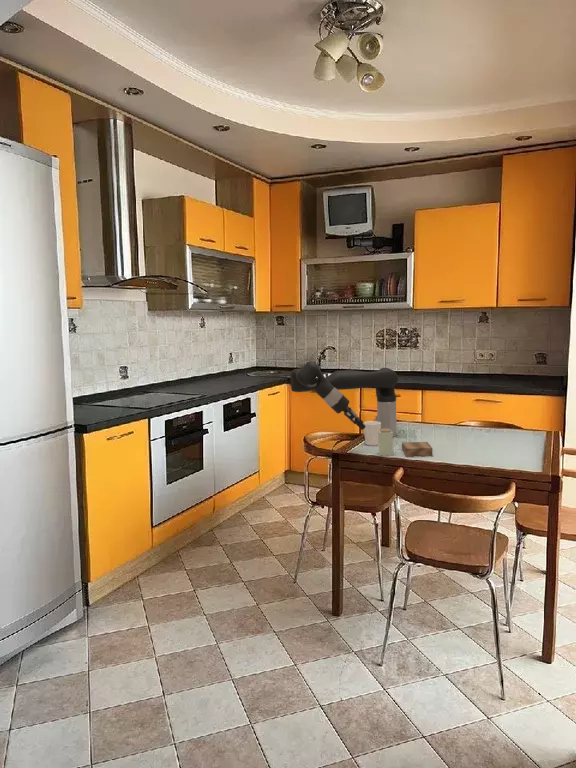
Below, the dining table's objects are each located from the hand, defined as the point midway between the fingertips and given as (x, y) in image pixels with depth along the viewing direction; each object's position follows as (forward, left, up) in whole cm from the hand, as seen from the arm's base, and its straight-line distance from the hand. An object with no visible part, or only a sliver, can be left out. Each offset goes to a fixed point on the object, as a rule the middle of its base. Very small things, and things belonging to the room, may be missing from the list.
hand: (363, 426), depth 244 cm
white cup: (-8, +19, -13) cm, 24 cm away
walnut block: (+17, +16, -13) cm, 27 cm away
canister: (+7, +7, -13) cm, 16 cm away
